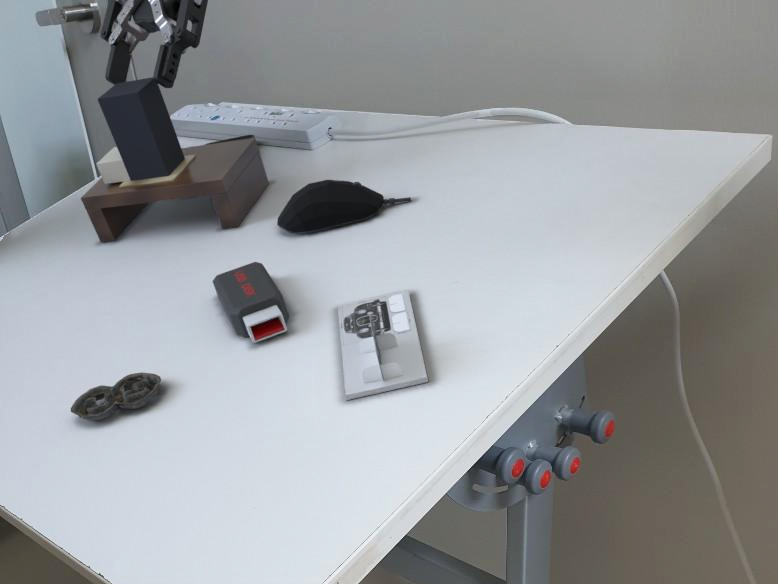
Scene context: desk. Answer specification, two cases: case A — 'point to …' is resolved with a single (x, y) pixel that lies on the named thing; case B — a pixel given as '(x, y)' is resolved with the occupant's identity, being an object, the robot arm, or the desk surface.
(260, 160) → the brown coffee table
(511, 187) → the desk surface
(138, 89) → the charcoal rectangular prism
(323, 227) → the gaming mouse
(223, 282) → the usb drive
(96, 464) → the desk surface
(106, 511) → the desk surface
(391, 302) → the car print tile
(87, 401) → the corroded twin loop
